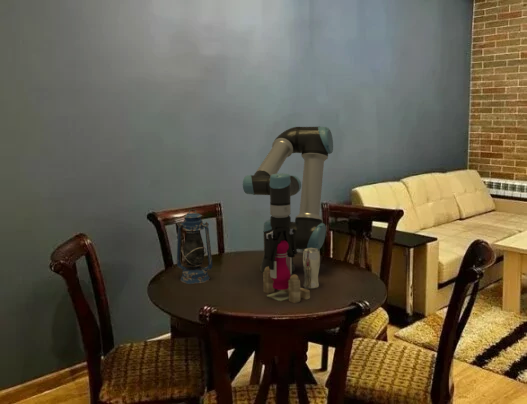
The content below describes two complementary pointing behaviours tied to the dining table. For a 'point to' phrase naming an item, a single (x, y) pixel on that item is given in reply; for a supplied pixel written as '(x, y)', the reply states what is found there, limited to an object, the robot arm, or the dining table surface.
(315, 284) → the beer glass
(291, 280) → the wooden toy blocks
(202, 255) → the lantern
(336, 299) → the dining table surface
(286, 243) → the pepper mill
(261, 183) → the robot arm
